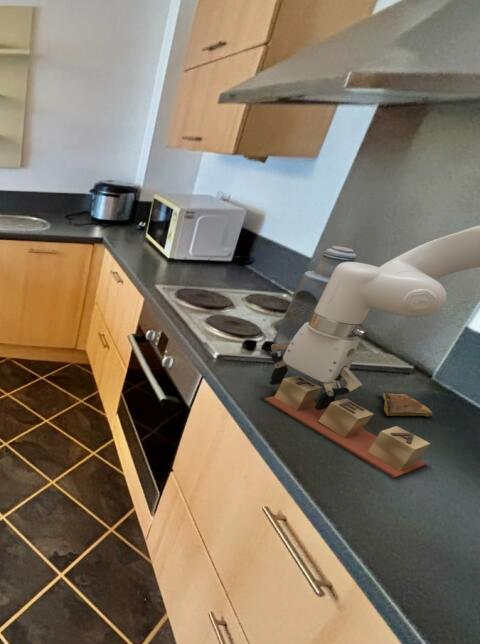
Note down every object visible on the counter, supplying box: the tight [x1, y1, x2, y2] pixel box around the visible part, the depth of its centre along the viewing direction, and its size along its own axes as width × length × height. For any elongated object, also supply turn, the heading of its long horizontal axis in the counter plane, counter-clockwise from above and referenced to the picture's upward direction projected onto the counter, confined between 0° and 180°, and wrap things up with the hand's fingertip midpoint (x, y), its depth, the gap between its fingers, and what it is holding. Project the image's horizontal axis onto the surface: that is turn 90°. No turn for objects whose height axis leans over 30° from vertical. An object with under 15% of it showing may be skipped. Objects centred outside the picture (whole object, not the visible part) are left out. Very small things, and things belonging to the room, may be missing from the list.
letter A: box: [368, 425, 431, 471], centre depth 75 cm, size 5×5×5 cm
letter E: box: [319, 398, 375, 438], centre depth 82 cm, size 5×5×5 cm
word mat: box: [263, 395, 427, 479], centre depth 84 cm, size 24×10×1 cm, turn 22°
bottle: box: [268, 245, 358, 357], centre depth 104 cm, size 10×10×30 cm
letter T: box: [274, 375, 323, 410], centre depth 90 cm, size 5×5×5 cm
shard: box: [382, 392, 433, 418], centre depth 92 cm, size 11×8×2 cm
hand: (296, 395), depth 90 cm, fingers open, 9 cm apart
